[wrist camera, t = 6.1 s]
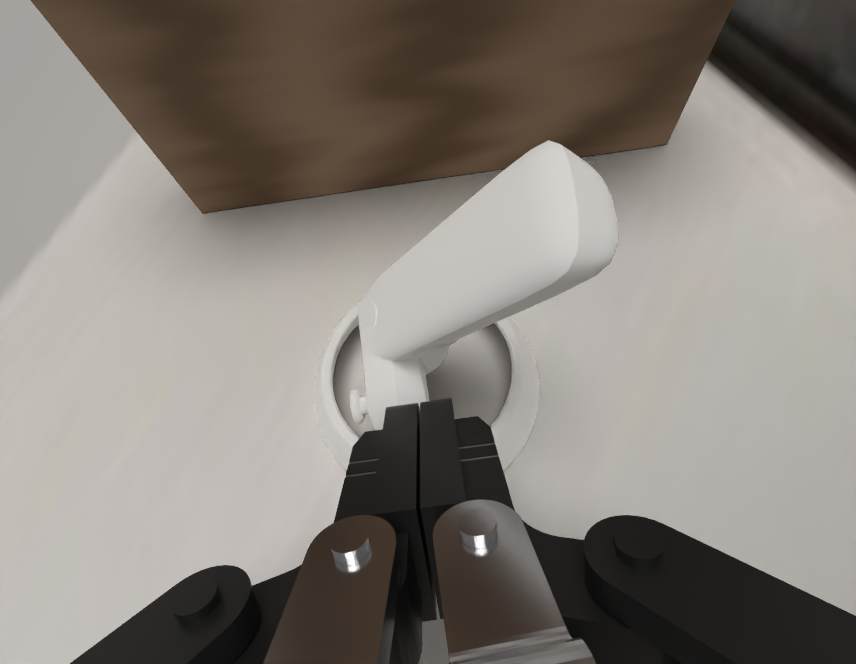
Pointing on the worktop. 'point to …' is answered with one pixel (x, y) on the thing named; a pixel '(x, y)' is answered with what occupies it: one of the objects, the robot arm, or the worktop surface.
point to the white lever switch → (474, 292)
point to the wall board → (383, 84)
